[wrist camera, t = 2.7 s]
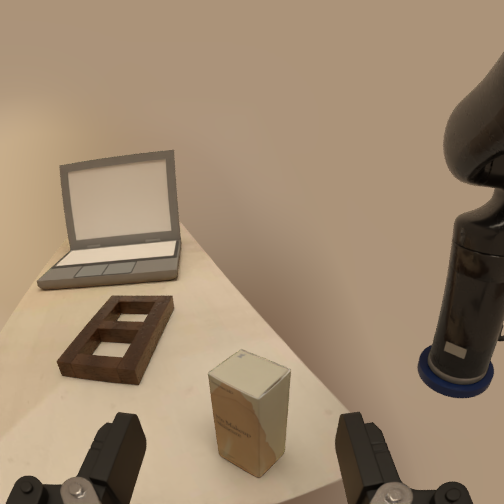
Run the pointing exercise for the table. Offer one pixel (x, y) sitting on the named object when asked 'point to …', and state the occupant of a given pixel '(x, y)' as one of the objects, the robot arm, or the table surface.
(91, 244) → the laptop
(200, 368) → the table surface
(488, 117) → the robot arm
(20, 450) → the table surface
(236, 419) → the box
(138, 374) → the socket pad
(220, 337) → the table surface
